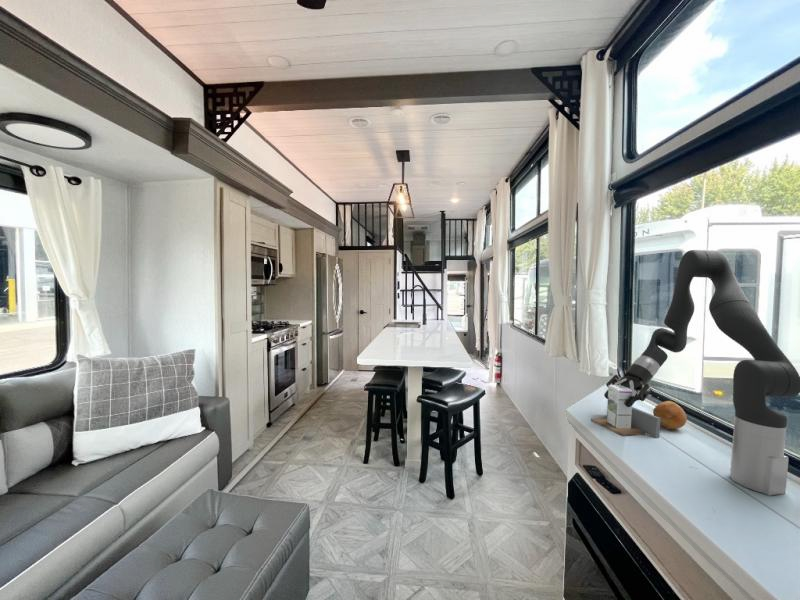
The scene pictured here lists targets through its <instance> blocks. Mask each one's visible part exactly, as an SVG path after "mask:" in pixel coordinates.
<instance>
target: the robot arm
mask: <svg viewBox="0 0 800 600" xmlns="http://www.w3.org/2000/svg"><path fill="white" fill-rule="evenodd" d="M676 273H677V274H676V278H675V282H674V283H675V284H674V289H673V294H672V299H671V302H670V305H669V308H668V310H667V312H666V315H665V318H664V320H663V324H664V325H665V327H667V328H669V329H670V330H669V329H667V328H663V327H661V328H660V327H659V328H657V329H655V330H654V331H653V332H652V335H651V338H650V340H649V342H648V345H647V347H646V349H645V350H644V351H643V352H642V353H641V354H640V356H639V357H637V358H636V359H635V361H634V362H633V363H632V364H631V365H630V366H629V367H628V368H627V369H626V371H625V372H624V375H623V376H622V377H620V376H619V375H618V374H614V375H613V376H612V377H611V379H609V380H608V381H607V383H606V384H605V386H606V387H607V388H608V387H609V385H621V386H624V387H626V388H629V389H630V390H632V392H631V395H632V396H630V397H629V398H628V399H627V400H626V401H625V402H624V404H625V406H626V407H631V406H632V407H633V405H634V404H635V403H636V402H637V401H641V402H644V401H645V400H646V399H647V398H648V396H649V395H650V393H651V391H653V389H652V387H650V384H648V383H649V382H651V380H652V379H653V378H654V377H655V375H656V374H657V373H658V371H659V370H660V368H661V367H662V366H663V365H664V363H665V362H667V360H668V354H667V352H666V351H664V350H663V349H665V350H668V351H670V352H671V353H677V354H678V353H681V352H682V351H684V350H685V349H686V346H687V344H688V343H687V342H688V329H689V324H690V322H691V319H692V318H693V315H694V313H695V301H694V299H693V297H692V294H691V293H692V292H691V283H692V281H693V279H694V278H708V279H709V280H710V281H711V282H712V284H713V286H714V289H715V291H714V293H713V295H712V297H711V300H710V301H709V304H708V305H709V306H708V311H709V313H710V315H711V317H712V319H713V321H714V323H715V325H716V327H717V328H718V329H719V330H720V331H721V333H723V334H724V335H726V336H727V337H728V338H729V339H731V340H732V341H734V342H736V344H738V345H740V346H741V347H742V348H744V349H745V350H746V351H747V352H748V353H749V354H750V355H751V356H752V358H753V359H743V360H740V361H739V362H738V363H736V366H735V367H734V370H733V374H732V375H733V376H732V377H733V379H732V384H733V385H732V389H733V390H732V403H733V407H734V411H735V412H734V422H733V423H734V424H733V434H732V447H731V458H730V459H731V460H730V469H729V470H730V471H729V478H730V479H731V480H732V481H733V482H736V483H737V484H738V485H741V486H742V487H745V488H747V489H750V490H751V491H752V490H753V491H756V492H759V493H762V494H765V495H766V496H769V497H770V496H776V495H781V494H786V492H787V491H786V490H787V479H788V469H789V457H788V456H787V455H785V446H786V444H785V443H786V435H787V425H788V417H787V415H785V414H784V413H783V412H780V411H778V410H777V409H776V410H775V409H773V408H770V407H769V406H767V403H766V402H767V401H766V397H769V398H770V397H772V398H785V399H787V398H788V399H789V398H795V397H797V396H799V394H800V374H799V372H798V371H797V369H796V367H795V366H794V365H793V363H792V362H791V361H790V360H789V358H788V357H787V356H786V354H785V353H784V351H782V350H781V348H780V347H779V346H778V345H777V343H776V342H775V340H774V339H773V338H772V336H771V335H770V333H769V332H768V330H767V329H766V327H765V325H764V324H763V322H762V321H761V319H760V317H759V315H758V313H757V312H756V310H755V308H754V306H753V305H752V303H751V302H750V301H749V299H748V297H747V296H746V294H745V293H744V291H743V289H742V287H741V285H740V283H739V281H738V279H737V278H736V275H735V272H734V270H733V268H732V266H731V263H730V261H729V259H728V257H727V256H726V255H725V253H724V252H722V251H720V250H707V249H691V250H688V251H686V252H685V253H684V254H683V255H682V257H681V259H680V261H679V265H678V268H677V272H676ZM603 396H604V398H605V399H607V400H608V389H607V390H606V391H605V392H604V394H603Z"/></svg>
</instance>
